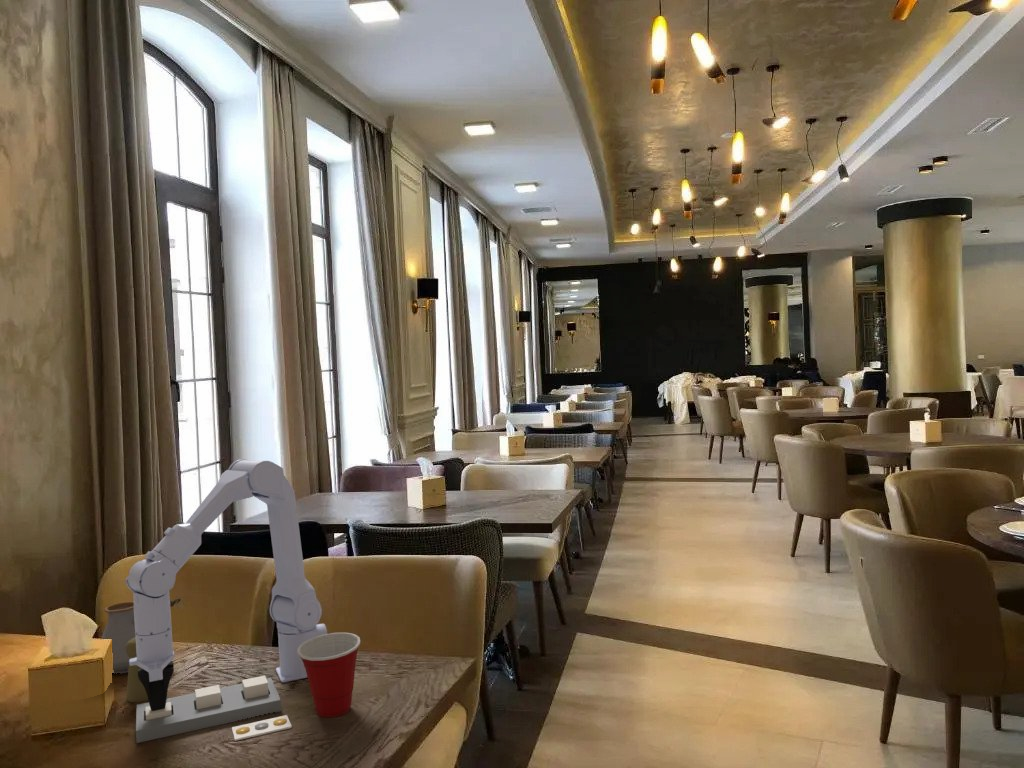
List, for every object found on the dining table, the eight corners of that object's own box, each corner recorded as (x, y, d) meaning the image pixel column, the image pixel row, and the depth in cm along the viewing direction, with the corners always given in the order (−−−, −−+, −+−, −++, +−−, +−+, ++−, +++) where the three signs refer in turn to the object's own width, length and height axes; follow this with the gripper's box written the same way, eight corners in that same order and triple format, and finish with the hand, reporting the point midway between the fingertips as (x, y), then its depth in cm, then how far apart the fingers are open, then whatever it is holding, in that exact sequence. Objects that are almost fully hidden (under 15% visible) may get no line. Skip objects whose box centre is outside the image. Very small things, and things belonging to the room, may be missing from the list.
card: (287, 716, 137) (286, 713, 137) (291, 727, 132) (291, 724, 132) (231, 729, 133) (231, 726, 133) (234, 741, 128) (234, 737, 128)
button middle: (219, 698, 142) (218, 684, 142) (221, 706, 139) (220, 692, 139) (195, 703, 141) (194, 689, 141) (196, 711, 137) (196, 697, 137)
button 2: (265, 688, 146) (264, 675, 146) (268, 696, 142) (267, 682, 142) (243, 693, 144) (242, 680, 144) (245, 701, 140) (244, 687, 140)
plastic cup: (287, 721, 135) (283, 651, 135) (324, 695, 145) (320, 630, 145) (342, 728, 131) (338, 655, 131) (376, 701, 141) (372, 634, 141)
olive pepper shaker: (147, 702, 146) (143, 643, 146) (118, 701, 148) (115, 642, 147) (168, 689, 152) (164, 632, 152) (140, 688, 153) (136, 632, 153)
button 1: (171, 715, 139) (170, 701, 139) (172, 724, 135) (171, 710, 135) (146, 721, 137) (145, 706, 137) (146, 730, 134) (145, 715, 134)
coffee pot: (81, 675, 162) (76, 602, 162) (125, 655, 173) (120, 587, 173) (165, 683, 156) (160, 607, 155) (205, 662, 166) (201, 590, 166)
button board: (271, 687, 150) (271, 677, 150) (281, 711, 139) (280, 699, 139) (137, 716, 140) (136, 704, 140) (136, 743, 130) (135, 731, 129)
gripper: (128, 623, 141) (133, 699, 141) (126, 647, 128) (131, 730, 128) (171, 616, 144) (176, 690, 144) (174, 638, 131) (179, 720, 131)
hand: (158, 709), depth 136 cm, fingers closed, pressing on button 1
